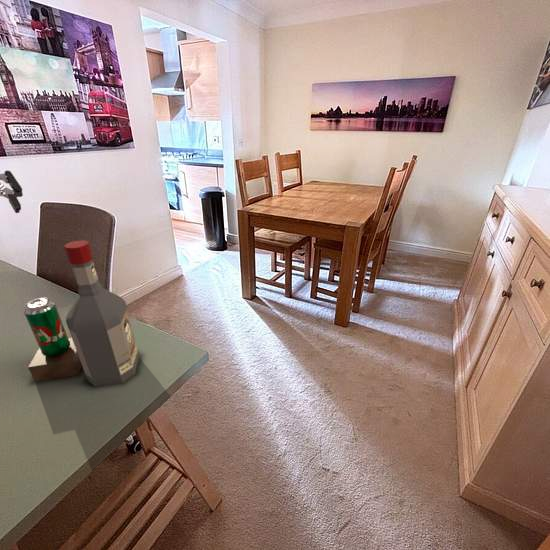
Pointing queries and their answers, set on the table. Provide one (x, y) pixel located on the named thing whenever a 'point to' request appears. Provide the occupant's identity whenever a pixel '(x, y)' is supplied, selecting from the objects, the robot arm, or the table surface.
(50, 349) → the soda can
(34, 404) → the table surface
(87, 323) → the liquor
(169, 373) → the table surface
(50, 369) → the stand
